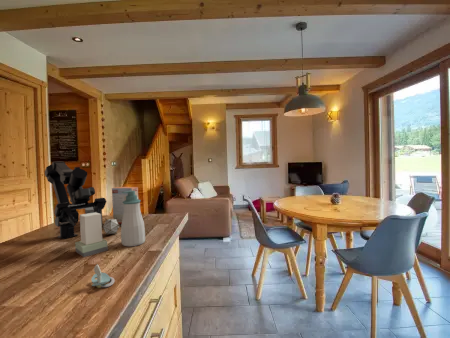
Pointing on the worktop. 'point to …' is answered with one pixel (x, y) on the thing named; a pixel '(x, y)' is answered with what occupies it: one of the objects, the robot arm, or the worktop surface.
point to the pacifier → (101, 278)
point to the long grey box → (91, 210)
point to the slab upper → (90, 246)
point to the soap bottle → (132, 221)
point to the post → (90, 228)
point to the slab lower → (92, 251)
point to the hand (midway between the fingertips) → (87, 222)
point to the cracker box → (120, 201)
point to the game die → (111, 226)
